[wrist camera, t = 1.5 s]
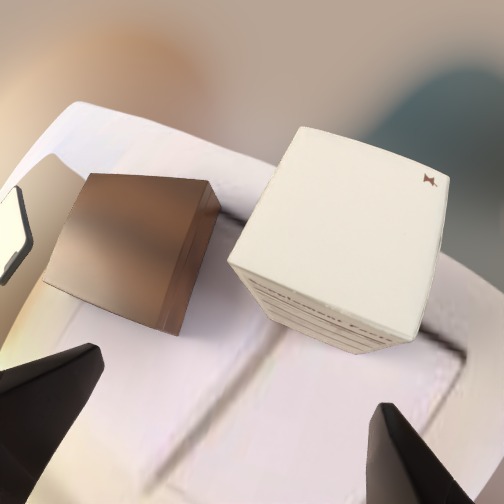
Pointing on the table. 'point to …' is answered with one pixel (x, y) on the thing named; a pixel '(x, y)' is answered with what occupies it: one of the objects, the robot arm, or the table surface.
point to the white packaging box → (344, 242)
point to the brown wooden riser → (135, 246)
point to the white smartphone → (13, 234)
